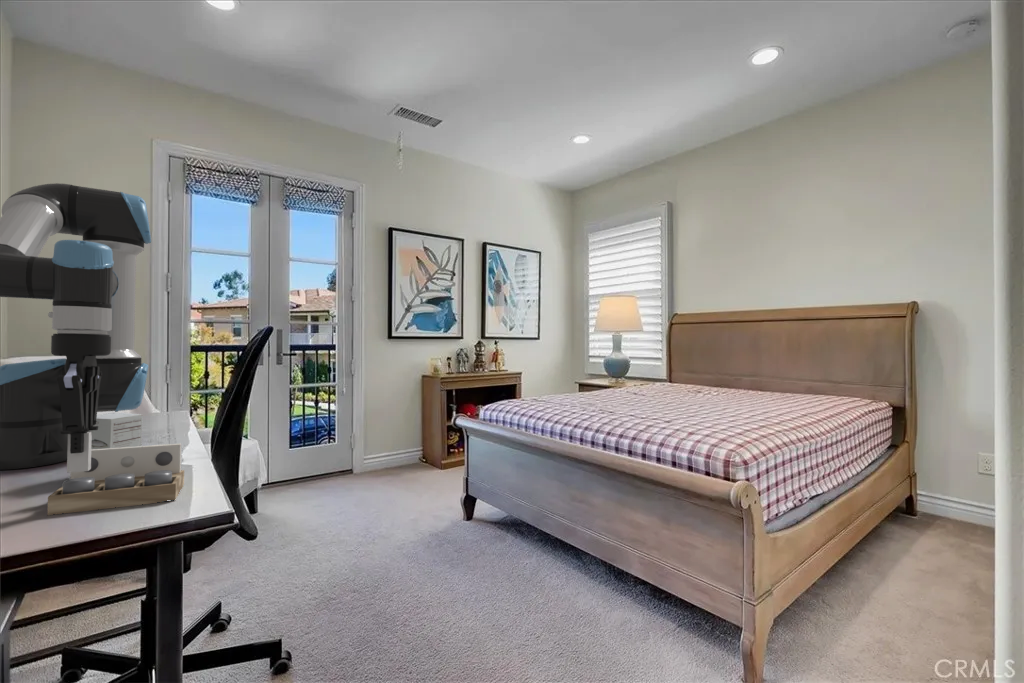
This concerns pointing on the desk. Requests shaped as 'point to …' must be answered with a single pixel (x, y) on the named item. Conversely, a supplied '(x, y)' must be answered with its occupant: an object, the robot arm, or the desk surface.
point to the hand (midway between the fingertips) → (79, 470)
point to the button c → (158, 478)
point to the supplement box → (117, 431)
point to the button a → (79, 485)
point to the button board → (114, 496)
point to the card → (132, 461)
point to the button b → (119, 481)
